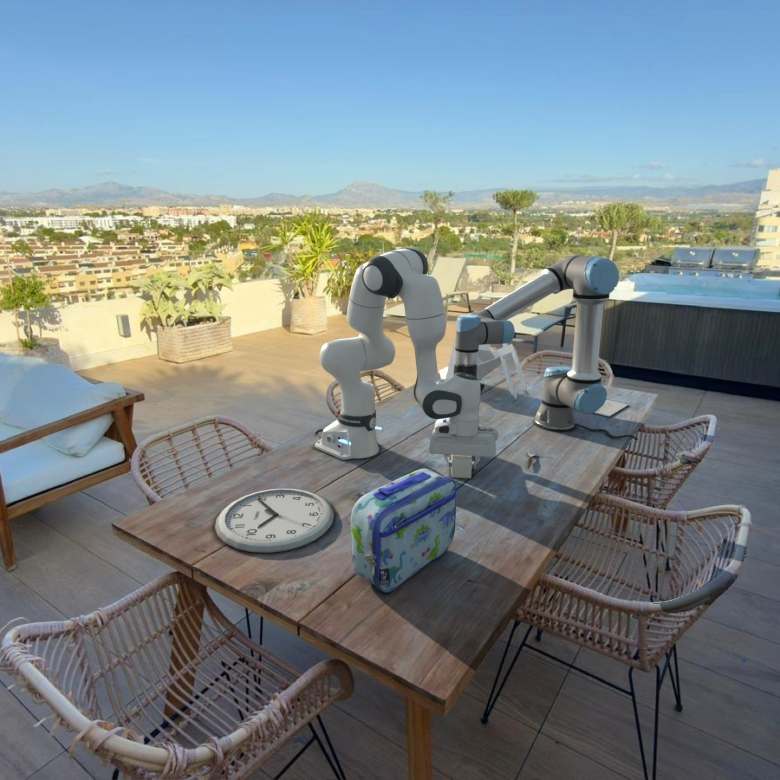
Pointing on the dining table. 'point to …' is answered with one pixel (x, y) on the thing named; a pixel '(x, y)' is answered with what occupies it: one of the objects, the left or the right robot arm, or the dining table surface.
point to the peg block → (461, 466)
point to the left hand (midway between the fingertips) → (461, 467)
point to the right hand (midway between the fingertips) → (461, 430)
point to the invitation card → (610, 408)
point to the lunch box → (402, 527)
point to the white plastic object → (491, 365)
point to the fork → (531, 456)
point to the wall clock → (274, 520)
